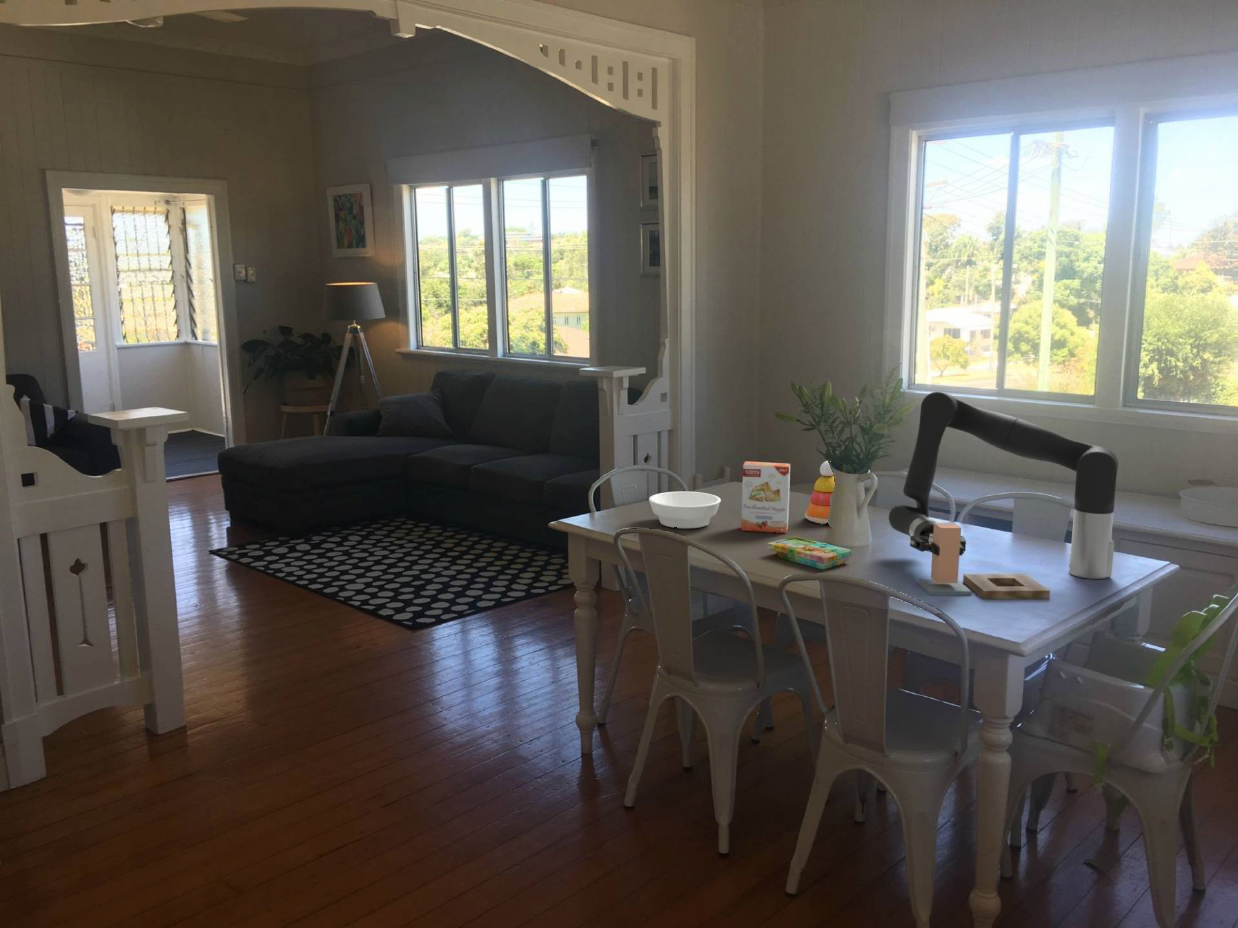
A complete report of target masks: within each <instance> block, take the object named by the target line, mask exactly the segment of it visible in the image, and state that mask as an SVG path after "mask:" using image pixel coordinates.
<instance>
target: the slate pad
mask: <svg viewBox="0 0 1238 928" xmlns="http://www.w3.org/2000/svg"><path fill="white" fill-rule="evenodd" d="M917 584H918V586H920V588H922V589H923V590H924V591H925V590H926V591H925V592H926V593H927V592H928V593H927V594H928V595H929V594H930V595H929V596H971V595H972V590H970V589H969V588H968V587H967V585H964V584H963V582H961V581H960V580H958V583H937V582H936V581H934V580H933V579H932V578H930V579H929V578H928V579H925V578H923V579H922V578H921V579H917Z"/></svg>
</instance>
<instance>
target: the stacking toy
mask: <svg viewBox="0 0 1238 928" xmlns="http://www.w3.org/2000/svg"><path fill="white" fill-rule="evenodd" d="M828 461H829V460H825V461H824V462H822V464H820V466H819V467H820V468H819V473H820V475H822V476H820V477H819V478H818V479H817V480H816V481H815V483H814V486H813V492H812V493H811V496H810V503H809V505H808V507H807V511H806V512H805V514H804V516H805V518H806V519H807V520H808V521H810V522H813V523H817V524H819V523H820V524H819V525H825V524H826V523H827V522H828V515H829V511H830V498H831V496H832V493H833V491H834V487H835V482H834V477H835V476H834V475H835V473H834V474H833V472H832V470H831V468H830V465H829V463H828Z"/></svg>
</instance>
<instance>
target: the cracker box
mask: <svg viewBox="0 0 1238 928" xmlns="http://www.w3.org/2000/svg"><path fill="white" fill-rule="evenodd" d="M742 466H743V467H742V489H741V491H742V493H741V494H742V495H741V521H740V522H741V523H740V524H741V525H740V526H741V527H740V531H746V532H761V533H762V532H763V533H764V532H765V533H773V532H776V533H775V534H787V533H788V529H789V515H790V513H789V512H790V484H791V483H790V481H791V463H785V462H784V463H783V462H764V461H762V462H761V461H747V460H746V461H744V462H743V465H742Z"/></svg>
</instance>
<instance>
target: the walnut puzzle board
mask: <svg viewBox="0 0 1238 928" xmlns="http://www.w3.org/2000/svg"><path fill="white" fill-rule="evenodd" d="M962 583H964V584H965V586H968V587H969V588H970V589H971V591H973V592H975V593H976V594H977V595H978V596H979V597H981V598H982V599H983V600H1001V599H1002V600H1024V599H1025V600H1028V599H1029V600H1031V599H1032V600H1033V599H1034V600H1035V599H1036V600H1038V599H1043V600H1044V599H1045V600H1047V599H1050V598H1051V590H1050V589H1048V588H1047V587H1045V586H1044V585H1042V584H1041V583H1040V582H1038V581H1037V580H1035V579H1034V578H1032V577H1031V576H1029V575H1028V574H1027V573H991V574H990V573H976V574H975V573H972V574H971V573H963V579H962Z"/></svg>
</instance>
